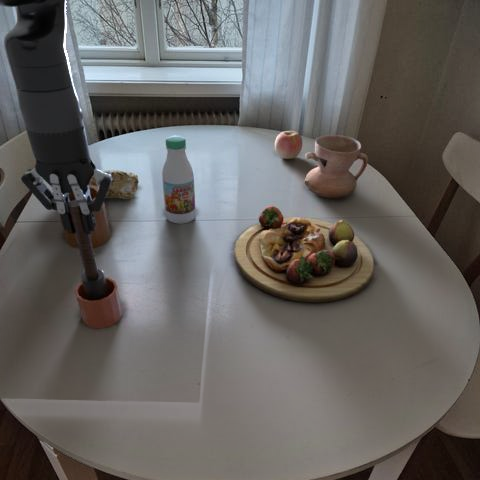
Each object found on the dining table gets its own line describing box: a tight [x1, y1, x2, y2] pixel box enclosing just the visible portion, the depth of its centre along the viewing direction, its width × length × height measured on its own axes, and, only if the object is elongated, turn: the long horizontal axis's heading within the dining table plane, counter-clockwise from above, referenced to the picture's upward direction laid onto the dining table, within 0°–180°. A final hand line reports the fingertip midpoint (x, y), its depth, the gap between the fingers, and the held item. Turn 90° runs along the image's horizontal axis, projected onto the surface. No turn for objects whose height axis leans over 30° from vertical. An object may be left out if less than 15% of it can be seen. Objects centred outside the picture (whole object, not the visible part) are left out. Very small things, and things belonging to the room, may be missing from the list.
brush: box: [67, 200, 109, 301], centre depth 73 cm, size 4×4×19 cm
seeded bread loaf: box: [88, 169, 140, 200], centre depth 116 cm, size 13×8×20 cm
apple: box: [274, 130, 303, 160], centre depth 140 cm, size 9×9×8 cm
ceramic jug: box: [304, 134, 369, 199], centre depth 120 cm, size 18×14×14 cm
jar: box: [57, 185, 112, 249], centre depth 100 cm, size 10×10×11 cm
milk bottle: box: [161, 135, 196, 224], centre depth 105 cm, size 8×8×20 cm
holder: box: [74, 276, 123, 329], centre depth 81 cm, size 7×8×7 cm
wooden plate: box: [233, 205, 375, 303], centre depth 97 cm, size 32×32×8 cm
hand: (81, 231), depth 70 cm, fingers closed on brush, 2 cm apart
